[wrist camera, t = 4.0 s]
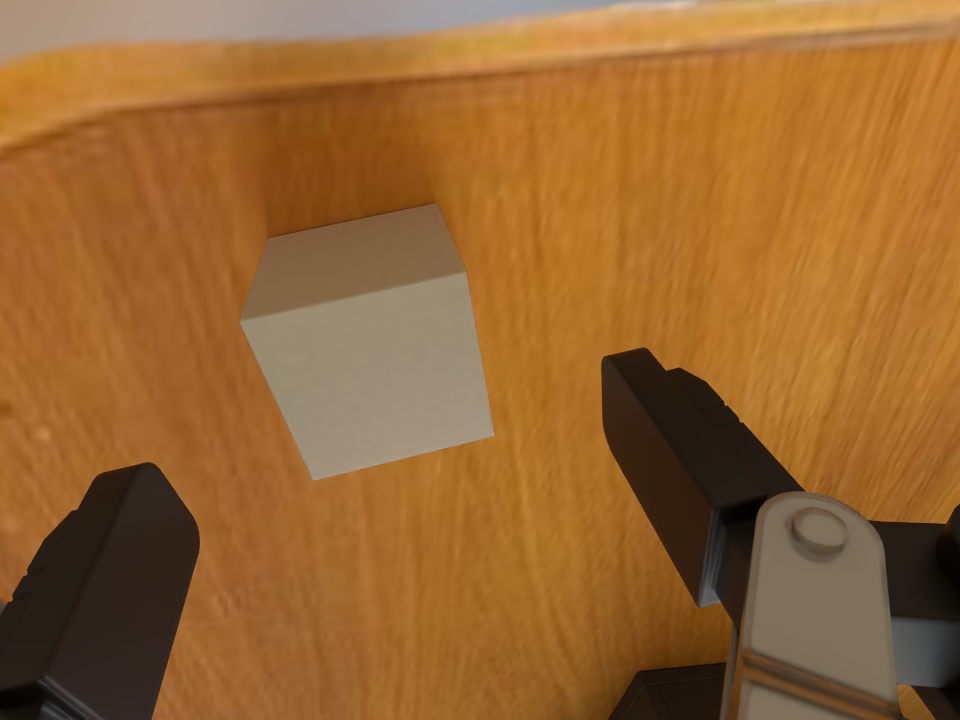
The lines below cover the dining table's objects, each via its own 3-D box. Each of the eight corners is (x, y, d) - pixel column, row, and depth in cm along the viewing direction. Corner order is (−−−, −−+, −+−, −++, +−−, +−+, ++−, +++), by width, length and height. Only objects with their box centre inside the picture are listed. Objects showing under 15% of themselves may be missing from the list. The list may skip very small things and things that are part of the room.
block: (320, 375, 17) (312, 481, 13) (267, 237, 14) (237, 320, 10) (464, 342, 17) (495, 436, 13) (437, 202, 14) (466, 270, 11)
